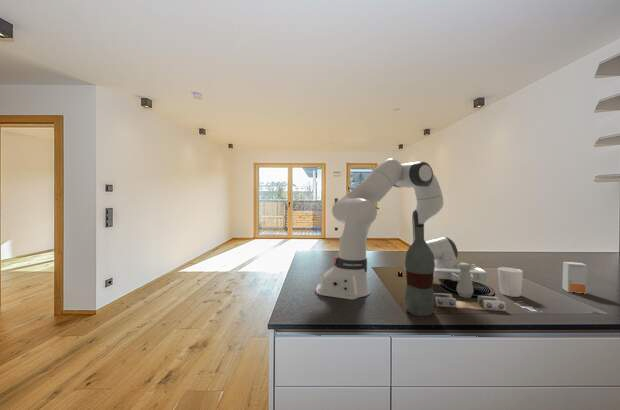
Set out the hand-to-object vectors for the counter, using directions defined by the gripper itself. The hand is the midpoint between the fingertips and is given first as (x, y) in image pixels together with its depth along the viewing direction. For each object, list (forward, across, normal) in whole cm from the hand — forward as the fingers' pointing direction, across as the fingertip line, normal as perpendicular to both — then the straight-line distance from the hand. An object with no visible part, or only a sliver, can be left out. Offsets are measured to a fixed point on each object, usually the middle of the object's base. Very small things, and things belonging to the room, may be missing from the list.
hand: (465, 279), depth 100 cm
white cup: (-7, +19, +7) cm, 21 cm away
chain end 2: (+9, +5, +7) cm, 12 cm away
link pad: (+9, -3, +7) cm, 12 cm away
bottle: (+17, -21, +7) cm, 28 cm away
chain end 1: (+9, -11, +7) cm, 16 cm away
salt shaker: (-1, 0, +7) cm, 7 cm away
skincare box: (-15, +47, +7) cm, 50 cm away
